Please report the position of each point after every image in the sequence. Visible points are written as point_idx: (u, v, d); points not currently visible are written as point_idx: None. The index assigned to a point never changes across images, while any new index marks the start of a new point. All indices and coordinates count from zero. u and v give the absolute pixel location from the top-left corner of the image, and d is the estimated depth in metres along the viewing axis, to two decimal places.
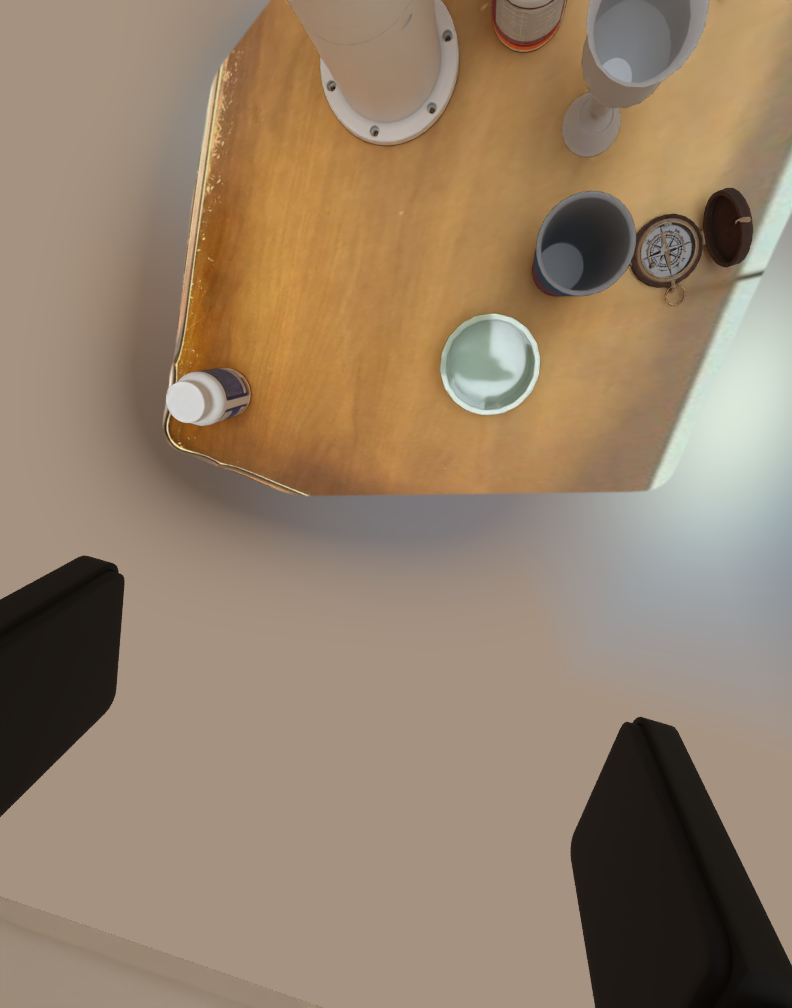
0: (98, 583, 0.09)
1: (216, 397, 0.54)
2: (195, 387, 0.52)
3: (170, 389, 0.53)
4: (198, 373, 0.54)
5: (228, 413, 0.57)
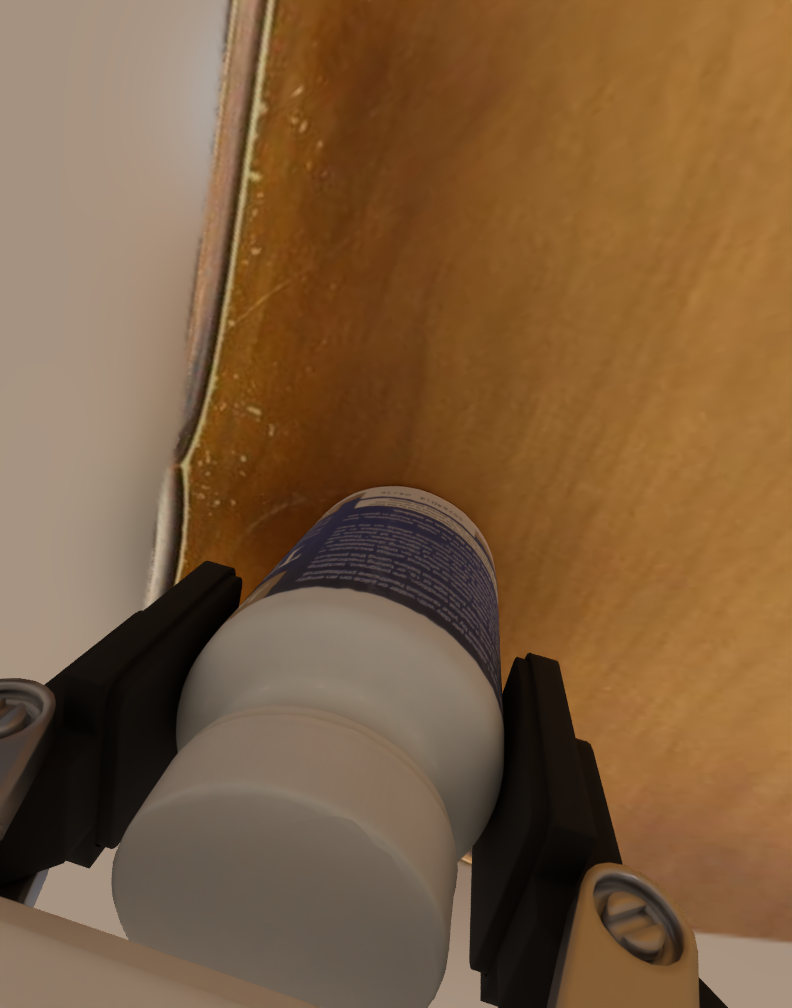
0: (226, 586, 0.10)
1: (470, 783, 0.08)
2: (377, 846, 0.06)
3: (146, 832, 0.06)
4: (346, 619, 0.08)
5: None
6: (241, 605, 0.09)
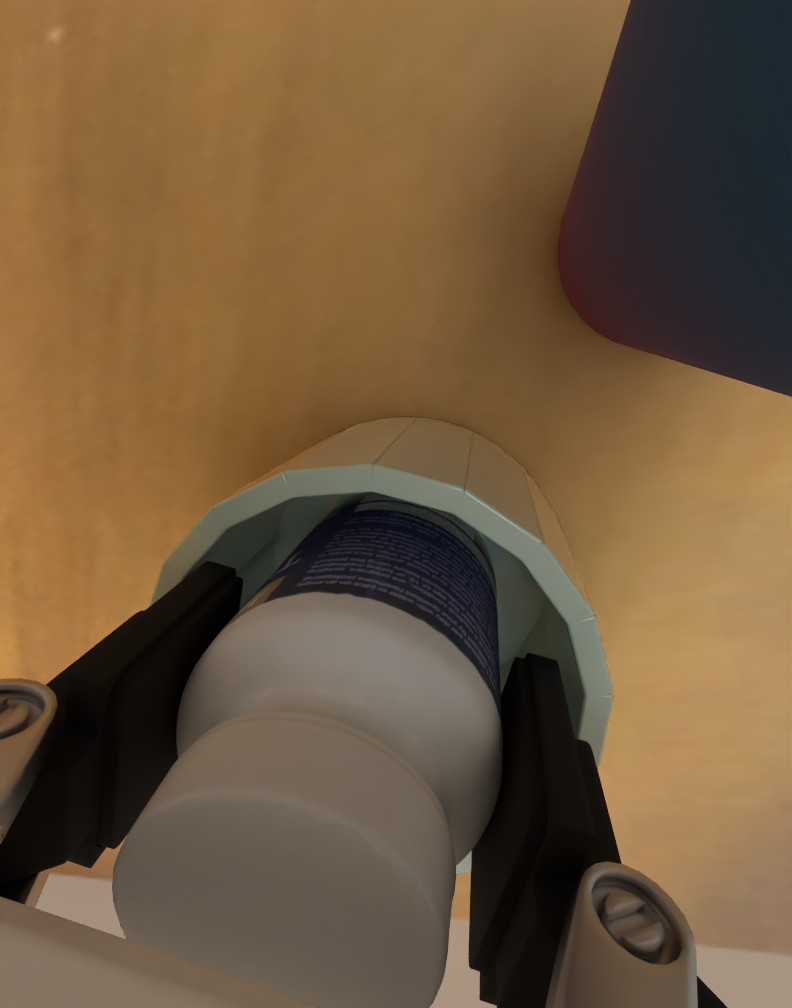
0: (226, 586, 0.10)
1: (469, 788, 0.08)
2: (376, 853, 0.06)
3: (146, 838, 0.06)
4: (345, 625, 0.08)
5: None
6: (241, 610, 0.09)
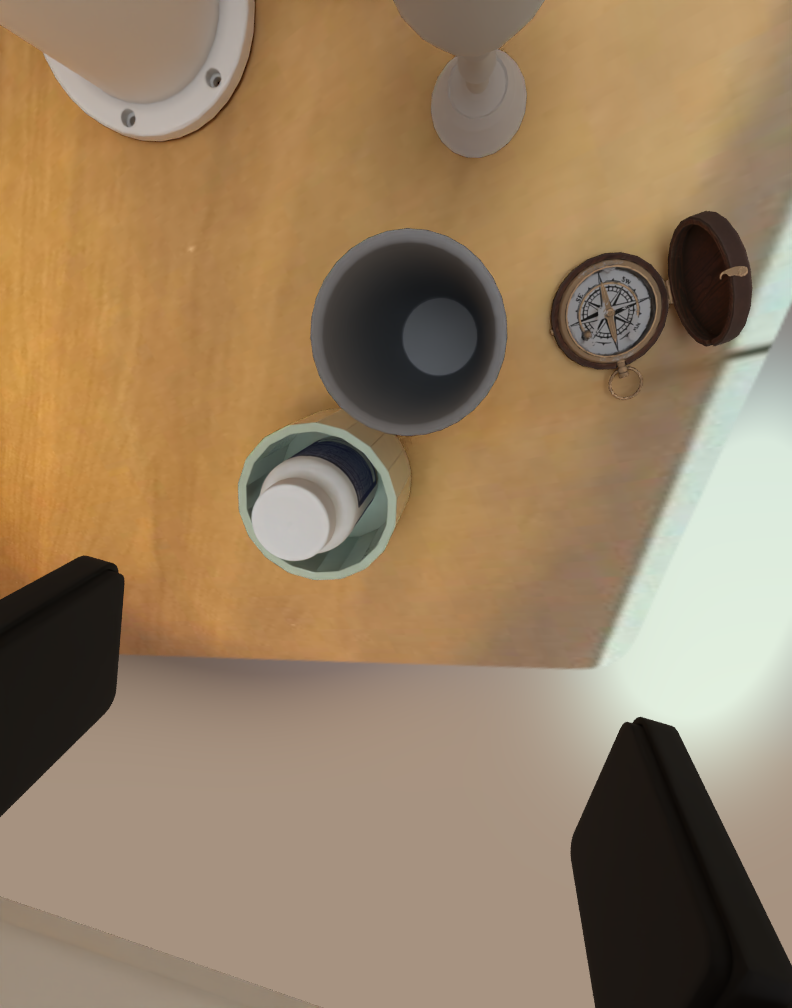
0: (98, 583, 0.09)
1: (343, 506, 0.28)
2: (312, 495, 0.26)
3: (261, 499, 0.27)
4: (308, 461, 0.28)
5: (354, 526, 0.31)
6: None
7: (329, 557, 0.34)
